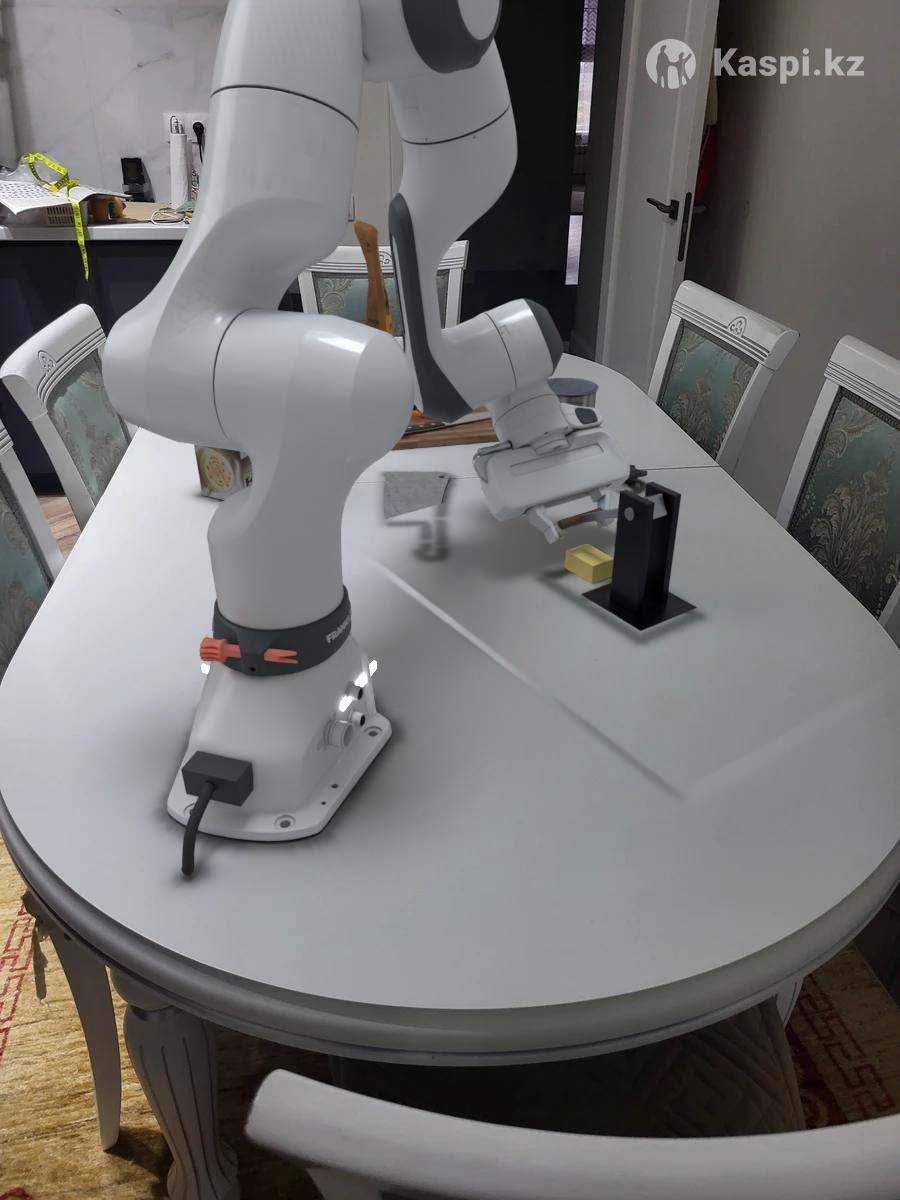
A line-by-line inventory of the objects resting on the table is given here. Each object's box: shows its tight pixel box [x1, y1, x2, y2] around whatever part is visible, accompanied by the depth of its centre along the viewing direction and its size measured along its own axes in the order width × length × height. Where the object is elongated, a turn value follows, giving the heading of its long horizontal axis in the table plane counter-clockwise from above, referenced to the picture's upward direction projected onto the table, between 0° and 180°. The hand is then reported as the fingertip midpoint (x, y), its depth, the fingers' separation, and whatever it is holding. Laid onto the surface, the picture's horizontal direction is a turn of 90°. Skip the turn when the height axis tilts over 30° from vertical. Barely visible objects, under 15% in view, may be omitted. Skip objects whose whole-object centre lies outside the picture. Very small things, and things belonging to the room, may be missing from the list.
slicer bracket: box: [580, 481, 698, 632], centre depth 101 cm, size 10×9×15 cm
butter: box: [564, 543, 614, 585], centre depth 109 cm, size 5×4×3 cm
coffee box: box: [193, 444, 253, 501], centre depth 131 cm, size 9×6×16 cm
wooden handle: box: [353, 219, 396, 339], centre depth 198 cm, size 7×19×28 cm, turn 11°
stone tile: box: [383, 471, 451, 520], centre depth 128 cm, size 29×1×10 cm
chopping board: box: [391, 404, 500, 451], centre depth 163 cm, size 45×27×3 cm, turn 102°
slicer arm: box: [556, 494, 667, 531], centre depth 103 cm, size 14×6×2 cm, turn 34°
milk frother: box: [547, 377, 648, 483], centre depth 134 cm, size 14×16×15 cm
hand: (583, 532), depth 109 cm, fingers closed on slicer arm, 6 cm apart
